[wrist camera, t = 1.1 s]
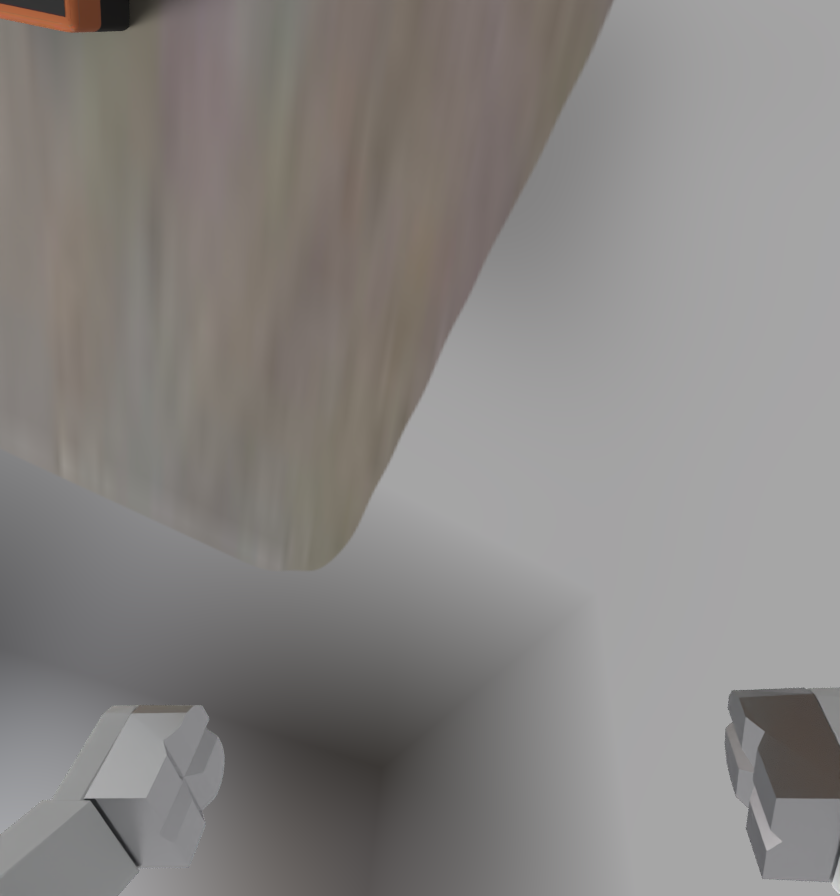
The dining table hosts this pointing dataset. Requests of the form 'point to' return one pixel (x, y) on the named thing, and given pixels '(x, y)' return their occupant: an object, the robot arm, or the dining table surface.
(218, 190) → the dining table surface
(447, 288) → the dining table surface
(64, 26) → the battery
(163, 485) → the dining table surface
